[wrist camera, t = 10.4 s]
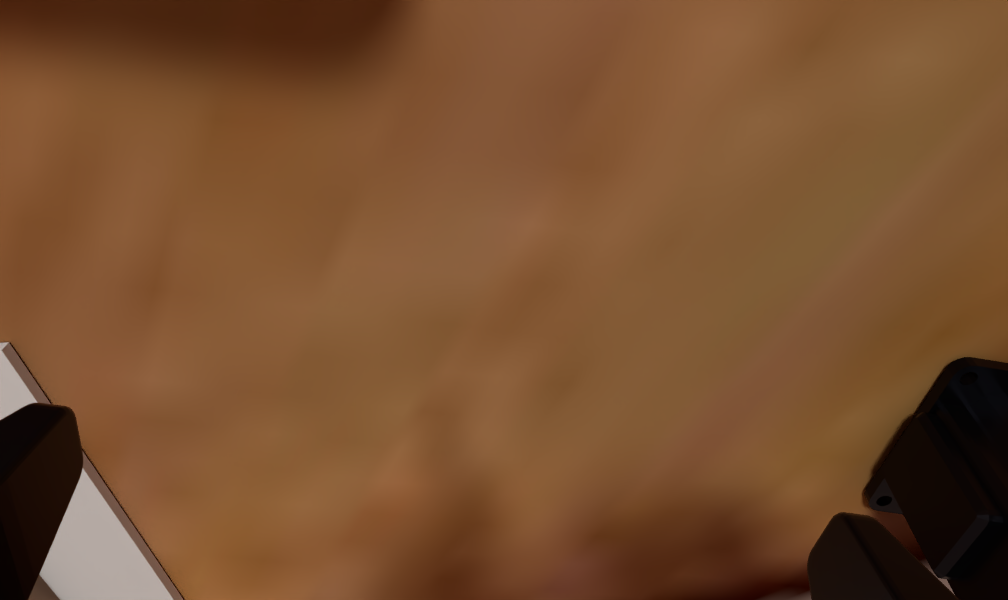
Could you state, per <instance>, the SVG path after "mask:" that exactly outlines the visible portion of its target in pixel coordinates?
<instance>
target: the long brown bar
mask: <svg viewBox="0 0 1008 600" xmlns="http://www.w3.org/2000/svg"><path fill="white" fill-rule="evenodd" d="M28 600H60V599H59V598H58V597H57V596H56V594H55V593H54V592H53V591H52V589H51V588H50V587H49V586H48V585H47V583H46V582H45V581H44V580H43V579H42V577H41V576H40V575H39V577H38V579H37V581H36V584H35V586H34V588H33V590H32V593H31V595H30V597H29V599H28Z"/></svg>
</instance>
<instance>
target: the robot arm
mask: <svg viewBox="0 0 1008 600" xmlns="http://www.w3.org/2000/svg"><path fill="white" fill-rule="evenodd" d="M968 372H969V373H968ZM966 373H968V374H967V375H964V374H966ZM963 375H964V376H963ZM82 469H83V452H82V447H81V442H80V437H79V431H78V426H77V421H76V417H75V414H74V412H73V411H72V409H71V408H69V407H66V406H60V405H53V404H46V403H31V404H28V405H26V406H24V407H22V408H20V409H18V410H17V411H15V412H13V413H12V414H10V415H8V416H6V417H5V418H3V419H1V420H0V600H28V599H29V597H30V595H31V593H32V590H33V588H34V586H35V584H36V581H37V579H38V577H39V574H40V572H41V570H42V567H43V565H44V562H45V560H46V558H47V555H48V553H49V551H50V548H51V546H52V543H53V541H54V539H55V536H56V534H57V532H58V529H59V527H60V524H61V522H62V520H63V517H64V515H65V513H66V510H67V508H68V505H69V503H70V501H71V498H72V496H73V494H74V491H75V489H76V486H77V484H78V482H79V479H80V477H81V473H82ZM864 494H865V498H866V500H867V502H868V504H869V506H870V507H871V508H872V509H874V510H877V511H884V512H891V513H898V514H903V515H904V517H905V519H906V520H907V522H908V524H909V526H910V528H911V530H912V532H913V534H914V536H915V538H916V540H917V542H918V543H919V545H920V547H921V549H922V551H923V553H924V555H925V557H926V559H927V561H928V563H929V565H930V567H931V568H932V570H933V572H934V573H935V575H936V576H937V577H938V578H943V579H947V581H948V583H949V584H950V586H951V588H952V590H953V592H954V594H955V595H954V594H953V593H952V592H951V591H950V590H949V589H948V588H947V587H946V586H945V585H944V584H942V582H941V581H939V580H938V579H937V578H936V577H935V576H934V575H933V574H932V573H931V572H930V571H929V570H928V569H927V568H926V567H925V566H924V565H923V564H922V563H921V562H920V561H919V560H918V559H917V558H916V557H915V556H914V555H913V554H911V553H910V552H909V551H908V550H907V549H906V548H905V547H904V546H903V545H902V544H901V543H900V542H899V541H898V540H897V539H896V538H895V537H894V536H893V535H892V534H891V533H890V532H889V531H888V530H887V529H886V528H885V527H883V526H882V525H881V524H880V523H879V522H878V521H877V520H876V519H874V518H873V517H870V516H867V515H860V514H853V513H846V512H841V513H838V514H836V515H835V516H833V518H832V519H831V520H830V522H829V524H828V525H827V527H826V528H825V530H824V531H823V533H822V534H821V536H820V537H819V539H818V541H817V542H816V544H815V545H814V547H813V548H812V550H811V552H810V555H809V558H808V563H807V571H808V579H809V585H810V592H811V598H812V600H1008V363H1003V362H997V361H991V360H985V359H978V358H972V357H964V358H960V359H957V360H955V361H954V362H952V363H951V364H950V365H949V366H948V367H947V368H946V370H945V371H944V373H943V374H942V376H941V377H940V379H939V380H938V382H937V383H936V385H935V386H934V388H933V389H932V391H931V392H930V394H929V395H928V397H927V398H926V400H925V401H924V403H923V404H922V406H921V407H920V409H919V410H918V412H917V413H916V415H915V416H914V418H913V419H912V421H911V422H910V424H909V425H908V427H907V428H906V430H905V431H904V433H903V434H902V436H901V437H900V439H899V441H898V442H897V444H896V445H895V447H894V448H893V450H892V451H891V453H890V454H889V456H888V457H887V459H886V460H885V462H884V463H883V465H882V466H881V468H880V469H879V471H878V472H877V474H876V475H875V477H874V478H873V480H872V481H871V483H870V484H869V486H868V487H867V489H866V491H865V493H864Z"/></svg>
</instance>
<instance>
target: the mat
mask: <svg viewBox="0 0 1008 600" xmlns="http://www.w3.org/2000/svg"><path fill="white" fill-rule="evenodd" d="M31 403H46V404H50V402H49V401H48V399H47V398H46V396H45V395H44V393H43V392H42V390H41V389H40V387H39V386H38V384H37V383H36V381H35V380H34V378H33V377H32V376H31V374H30V373H29V371H28V370H27V368H26V367H25V365H24V364H23V362H22V361H21V359H20V358H19V356H18V355H17V353H16V352H15V350H14V349H13V348H12V346H11V345H10V343H9V342H6V343H0V420H1V419H3V418H5V417H6V416H8V415H10V414H12V413H13V412H15V411H17V410H18V409H20V408H22V407H24V406H26V405H28V404H31ZM82 452H83V451H82ZM39 575H40V576H41V577H42V579H43V580H44V581H45V582H46V583H47V585H48V586H49V587H50V588H51V589H52V591H53V592H54V593H55V594H56V596H57V597H58V598H59V599H60V600H183V598H182V597H181V595H180V594H179V592H178V591H177V589H176V588H175V586H174V585H173V583H172V582H171V580H170V579H169V578H168V576H167V575H166V573H165V572H164V570H163V569H162V567H161V566H160V564H159V563H158V561H157V560H156V558H155V557H154V555H153V554H152V552H151V551H150V550H149V548H148V547H147V545H146V544H145V542H144V541H143V539H142V538H141V536H140V535H139V533H138V532H137V530H136V529H135V527H134V526H133V524H132V523H131V522H130V520H129V519H128V517H127V516H126V514H125V513H124V511H123V510H122V508H121V507H120V505H119V504H118V502H117V501H116V499H115V498H114V496H113V495H112V493H111V492H110V491H109V489H108V488H107V486H106V485H105V483H104V482H103V480H102V479H101V477H100V476H99V474H98V473H97V471H96V470H95V468H94V467H93V465H92V464H91V463H90V461H89V460H88V458H87V457H86V455H85V454H84V452H83V469H82V473H81V477H80V479H79V482H78V484H77V486H76V489H75V491H74V494H73V496H72V498H71V501H70V503H69V505H68V508H67V510H66V513H65V515H64V517H63V520H62V522H61V524H60V527H59V529H58V532H57V534H56V536H55V539H54V541H53V543H52V546H51V548H50V551H49V553H48V555H47V558H46V560H45V562H44V565H43V567H42V570H41V572H40V574H39Z"/></svg>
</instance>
